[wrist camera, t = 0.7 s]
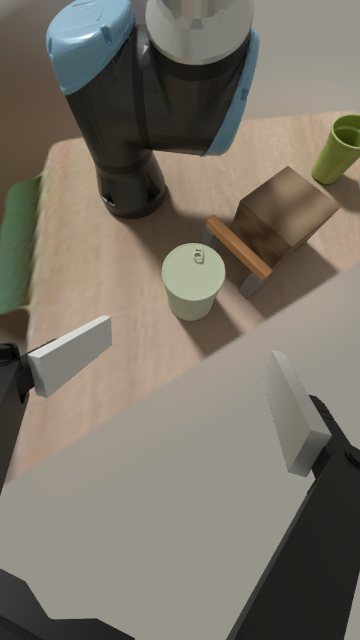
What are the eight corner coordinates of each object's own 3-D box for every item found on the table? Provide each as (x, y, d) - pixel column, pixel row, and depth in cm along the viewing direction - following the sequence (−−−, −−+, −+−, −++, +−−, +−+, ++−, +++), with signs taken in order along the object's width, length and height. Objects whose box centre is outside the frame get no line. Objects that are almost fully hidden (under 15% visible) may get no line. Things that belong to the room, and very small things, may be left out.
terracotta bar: (205, 226, 33) (206, 219, 31) (212, 221, 33) (213, 214, 32) (261, 281, 30) (266, 276, 29) (268, 275, 31) (273, 270, 29)
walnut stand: (228, 235, 41) (240, 200, 32) (266, 206, 42) (288, 165, 33) (267, 273, 38) (292, 246, 29) (306, 241, 40) (340, 206, 31)
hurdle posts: (199, 250, 40) (203, 226, 33) (208, 244, 40) (213, 219, 33) (246, 298, 37) (260, 283, 30) (255, 291, 37) (271, 275, 31)
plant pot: (308, 191, 43) (338, 149, 35) (300, 160, 45) (327, 114, 37) (348, 189, 43) (388, 147, 35) (338, 159, 45) (374, 112, 37)
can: (216, 282, 38) (231, 246, 26) (208, 325, 36) (221, 306, 24) (173, 274, 39) (169, 235, 27) (163, 315, 36) (153, 292, 25)
